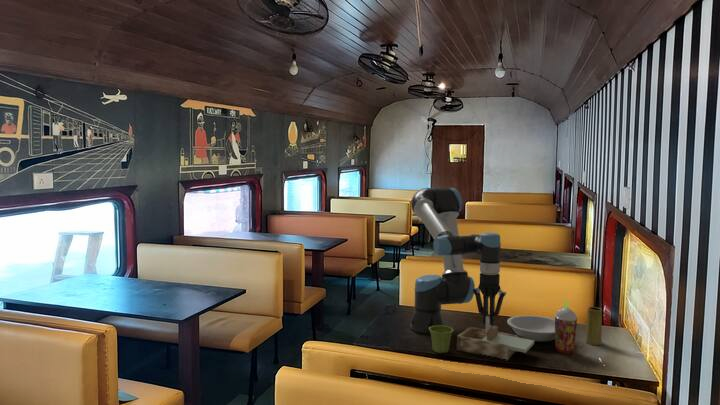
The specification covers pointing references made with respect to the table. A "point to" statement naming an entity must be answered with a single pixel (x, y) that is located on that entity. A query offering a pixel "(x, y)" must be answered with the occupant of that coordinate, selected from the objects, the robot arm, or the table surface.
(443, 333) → the plant pot
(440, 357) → the table surface
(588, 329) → the vase
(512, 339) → the cover plate
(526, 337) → the soup bowl
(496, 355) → the box
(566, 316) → the smoothie
